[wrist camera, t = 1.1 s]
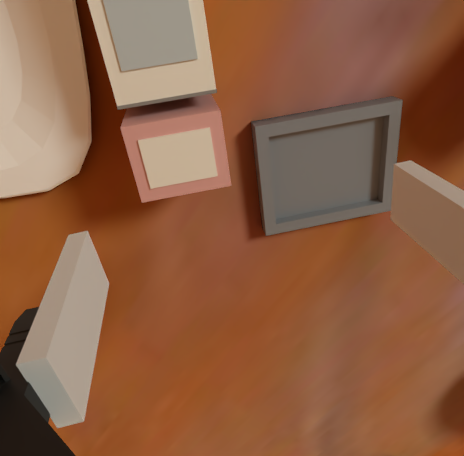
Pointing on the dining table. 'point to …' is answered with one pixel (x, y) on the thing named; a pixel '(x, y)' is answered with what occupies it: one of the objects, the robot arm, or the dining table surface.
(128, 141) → the stub
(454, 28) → the dining table surface
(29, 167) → the plate
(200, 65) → the grey-panelled beige block
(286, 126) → the stub tray
